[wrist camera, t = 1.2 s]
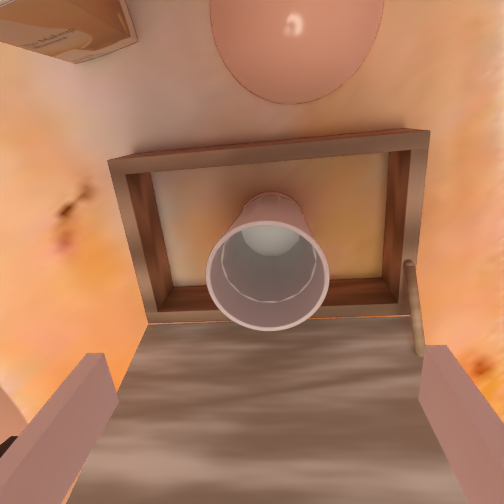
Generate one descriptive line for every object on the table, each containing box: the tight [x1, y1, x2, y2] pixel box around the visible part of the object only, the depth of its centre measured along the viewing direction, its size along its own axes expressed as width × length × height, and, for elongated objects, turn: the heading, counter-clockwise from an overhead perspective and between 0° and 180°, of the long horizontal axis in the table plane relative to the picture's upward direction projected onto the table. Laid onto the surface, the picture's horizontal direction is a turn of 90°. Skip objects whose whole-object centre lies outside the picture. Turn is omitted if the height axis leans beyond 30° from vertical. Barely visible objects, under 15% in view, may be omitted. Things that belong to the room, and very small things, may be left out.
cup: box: [206, 192, 330, 331], centre depth 27 cm, size 8×8×12 cm
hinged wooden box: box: [66, 128, 469, 504], centre depth 24 cm, size 19×24×20 cm
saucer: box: [210, 0, 384, 104], centre depth 25 cm, size 13×13×1 cm
